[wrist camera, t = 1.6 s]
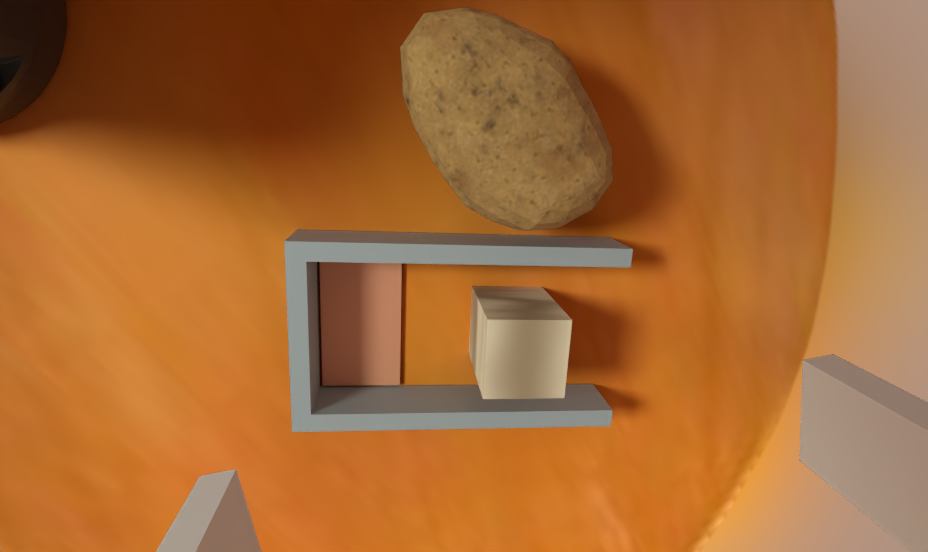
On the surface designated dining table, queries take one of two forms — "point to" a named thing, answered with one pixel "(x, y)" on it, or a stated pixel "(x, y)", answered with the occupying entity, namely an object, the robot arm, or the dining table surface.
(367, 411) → the u-shaped frame
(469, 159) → the potato
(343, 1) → the dining table surface
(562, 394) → the block
